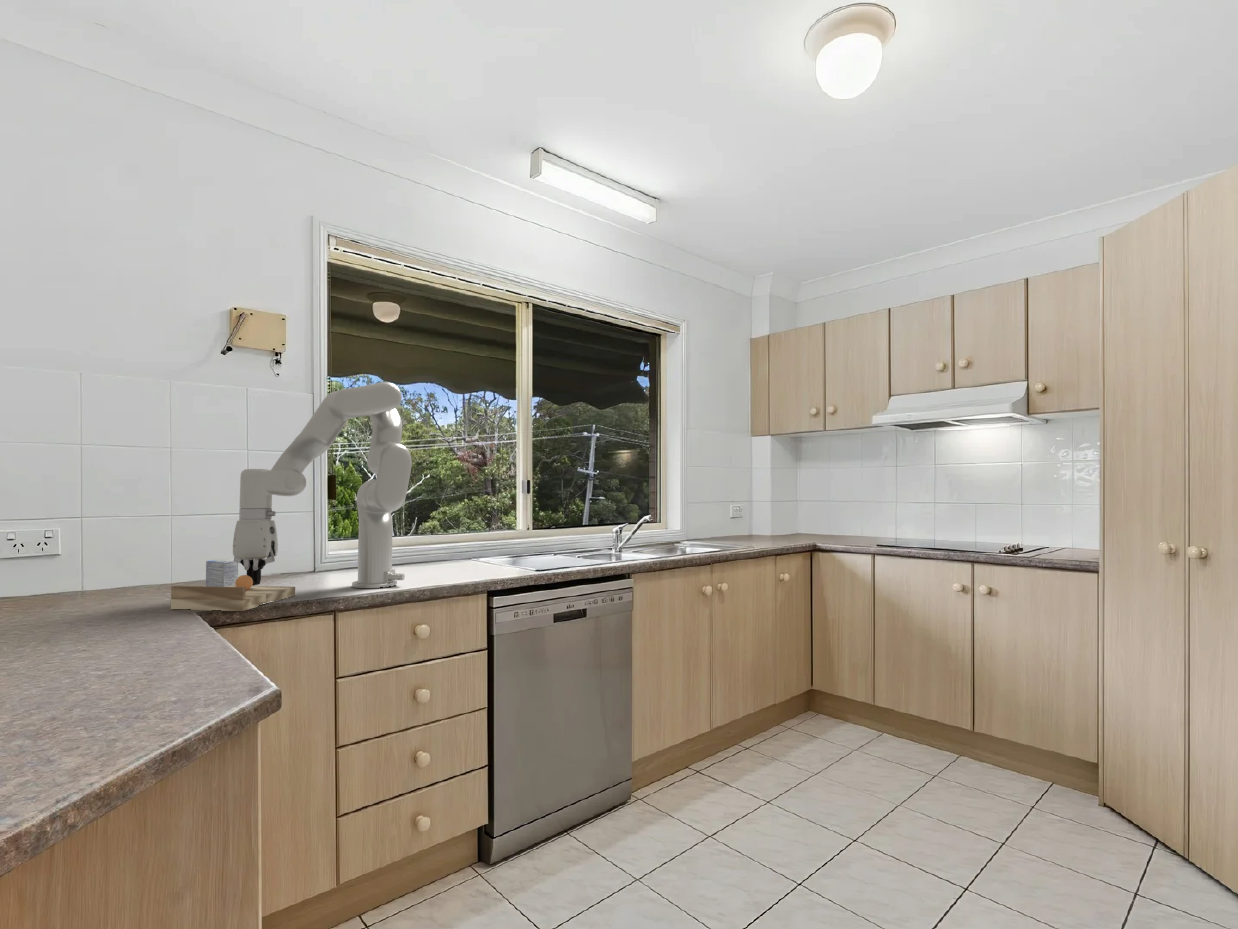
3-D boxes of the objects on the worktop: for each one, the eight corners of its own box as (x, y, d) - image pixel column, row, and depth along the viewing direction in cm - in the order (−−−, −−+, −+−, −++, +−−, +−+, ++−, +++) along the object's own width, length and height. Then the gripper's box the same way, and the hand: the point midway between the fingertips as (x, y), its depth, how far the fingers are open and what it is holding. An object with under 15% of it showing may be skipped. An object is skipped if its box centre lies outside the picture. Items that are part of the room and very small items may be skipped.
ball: (254, 572, 173) (244, 579, 169) (257, 586, 174) (248, 593, 170) (240, 572, 173) (230, 579, 169) (243, 586, 174) (233, 593, 171)
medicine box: (238, 591, 187) (239, 560, 187) (223, 593, 183) (224, 561, 183) (220, 589, 190) (220, 558, 191) (204, 591, 186) (205, 560, 187)
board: (231, 594, 180) (231, 574, 180) (295, 596, 179) (295, 575, 179) (170, 609, 158) (171, 586, 158) (242, 611, 157) (243, 587, 157)
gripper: (290, 515, 179) (288, 583, 179) (238, 514, 181) (236, 582, 180) (273, 516, 172) (271, 587, 171) (219, 515, 173) (217, 586, 172)
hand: (253, 584), depth 176 cm, fingers closed
